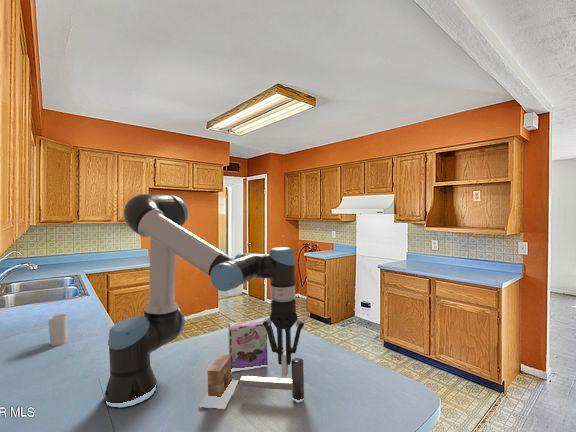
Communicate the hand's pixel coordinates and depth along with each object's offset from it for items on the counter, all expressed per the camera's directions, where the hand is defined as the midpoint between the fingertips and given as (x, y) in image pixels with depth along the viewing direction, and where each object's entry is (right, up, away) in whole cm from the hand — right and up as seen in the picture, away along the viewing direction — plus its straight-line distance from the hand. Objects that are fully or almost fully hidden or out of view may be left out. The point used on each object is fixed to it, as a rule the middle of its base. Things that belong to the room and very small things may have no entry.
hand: (285, 374), depth 96 cm
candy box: (-14, -8, +21) cm, 26 cm away
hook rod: (-4, -8, +1) cm, 9 cm away
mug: (-104, -9, +46) cm, 114 cm away
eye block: (-21, -8, +4) cm, 22 cm away
